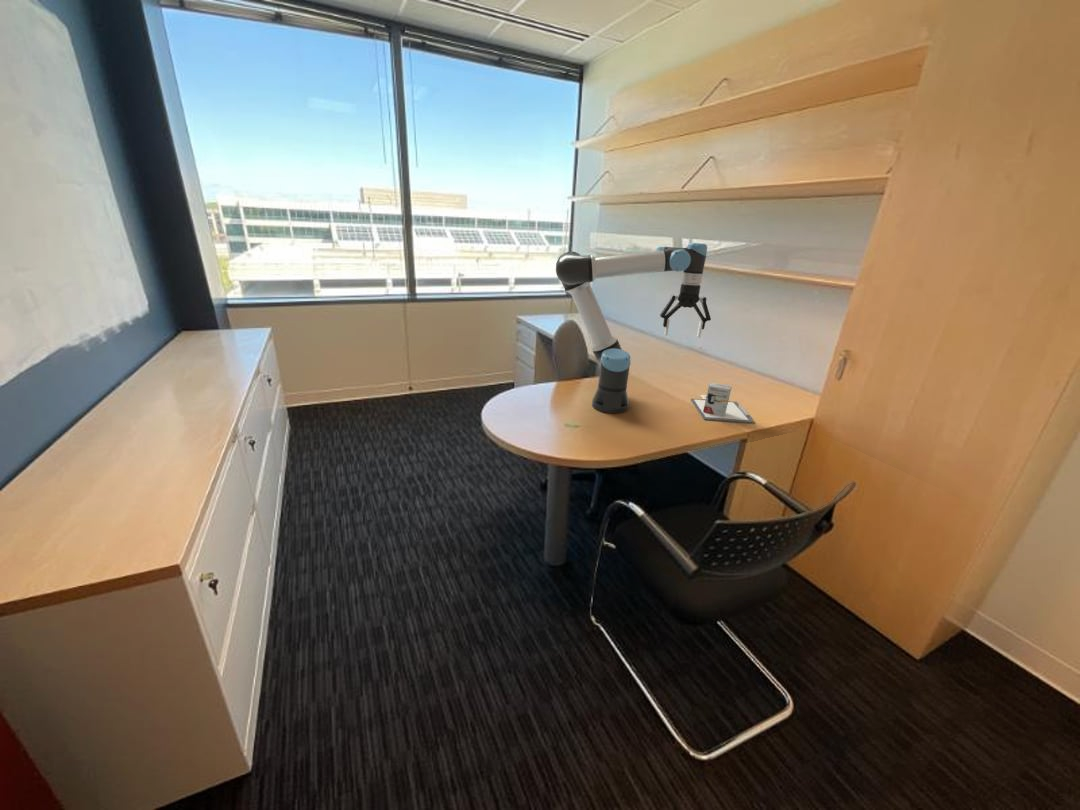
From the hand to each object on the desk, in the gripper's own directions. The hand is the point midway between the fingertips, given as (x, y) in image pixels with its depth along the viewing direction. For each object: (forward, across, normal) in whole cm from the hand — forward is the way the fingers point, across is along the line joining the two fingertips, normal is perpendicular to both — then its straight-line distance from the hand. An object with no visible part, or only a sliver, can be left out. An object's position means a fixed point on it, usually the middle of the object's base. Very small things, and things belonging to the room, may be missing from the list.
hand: (681, 335), depth 185 cm
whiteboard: (+29, +19, -10) cm, 36 cm away
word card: (+29, +19, +5) cm, 35 cm away
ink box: (+28, +15, -14) cm, 35 cm away
